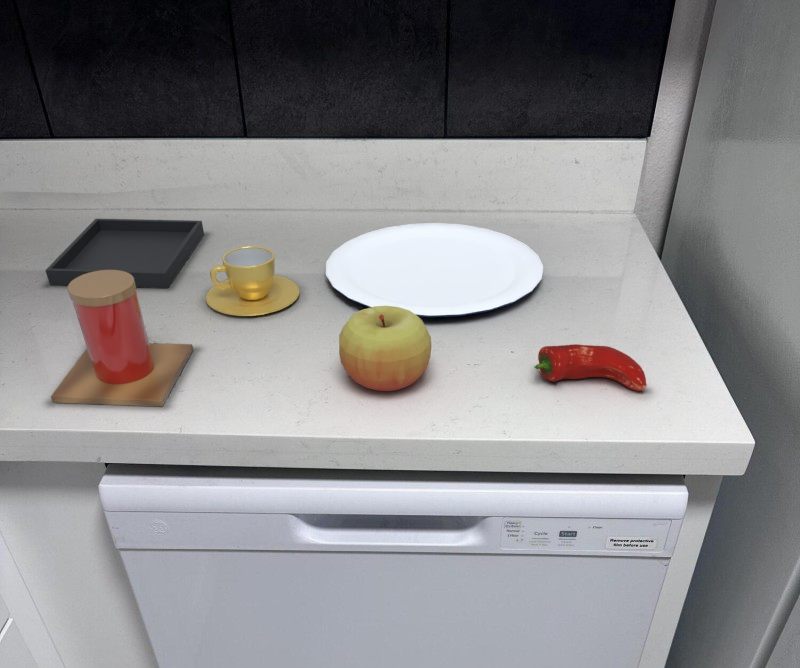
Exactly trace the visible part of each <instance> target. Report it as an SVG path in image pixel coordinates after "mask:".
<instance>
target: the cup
mask: <svg viewBox="0 0 800 668" xmlns="http://www.w3.org/2000/svg"><path fill="white" fill-rule="evenodd" d="M275 256H276V255H275V253H274V251H273V250H271V249H270V248H267V247H264V246H258V245H246V246H240V247H235V248H232V249H230V250H228V251H227V252H225V253H224V254H223V255H222V258H221V260H222V264H219V265H215V266H213V267H212V268H211V269H210V271H209V277H210V280H211V282H212V284H213V286H212V287H211V288H210V289H209V290H208V291H207V293H206V296H205V301H206V303H207V305H208V307H210V308H211V309H213V310H214V311H216V312H219V313H222V314H224V315H230V316H237V317H252V316H260V315H265V314H270V313H274V312H278V311H280V310H283V309H285V308H287V307H289V306H290V305H292V304H293V303H294V302H295V301H297V299H298V298H299V296H300V288H299V286H298V284H296V282H294V281H293V280H291V279H290V278H287V277H285V276H282V275H276V274H275V270H276V269H275V267H276V264H275V262H276V261H275V258H276V257H275ZM218 273H225V274H226V277H227V279H224V280H222V281H219V280H218V279H217V274H218Z"/></svg>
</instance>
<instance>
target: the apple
mask: <svg viewBox="0 0 800 668" xmlns="http://www.w3.org/2000/svg"><path fill="white" fill-rule="evenodd" d="M338 338H339V339H338V344H339V345H338V346H339V347H338V355H339V359H340V360H339V361H340V364H341V366H342V367H343V369H344V370H345V371H346V372H347V374H348V376H350V378H351V379H352V380H353V381H354V382H355V383H356V384H358V385H360V386H362V387H364V388H367V389H368V390H373V391H378V392H392V391H397V390H402V389H404V388H406V387H408V386H410V385H412V384H414V383H415V382H416V381H417V380H418V379H419V378H420V377H422V376H423V374H424V373H425V371H426V370H427V368H428V366H429V365H430V359H431V354H432V336H431V334H430V333H429V331H428V328H427V326H426V325H425V323H424V321H423V319H422V318H421V317H420V316H417V315H415V314H414V313H412V312H411V311H409V310H406V309H403V308H400V307H393V306H375V307H371V308H369V307H366V308H364V309H361V310H359V311H357V312H356V313H353V314H352V316H350V317H349V318H348V320H347V321H346V323H345V324H344V325H343V326H342V328H341V330H340V333H339V337H338Z"/></svg>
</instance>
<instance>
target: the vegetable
mask: <svg viewBox="0 0 800 668" xmlns="http://www.w3.org/2000/svg"><path fill="white" fill-rule="evenodd" d="M537 361H538V364H536V365H535V366H534V367H533V368H534V369H535V370H539V372H540V374H541V376H542V377H543V378H544V379H546V380H547V381H549V382H558V381H563V380H580V379H581V380H582V379H587V378H606V379H610V380H614V381H616V382H618V383H619V384H622V385H623V386H624V387H625V388H628V389H630V390H633V391H638V392H642V391H644V390H645V389H647V378H646V374H645V371H644V370H643V368H642V366H641V365H640V364H639V363H638V362H637V361H636V360H635V359H634V358H633V357H631V356H630V355H628V354H627V353H625V352H623V351H621V350H619V349H616V348H614V347H612V346H608V345H594V344H593V345H591V344H589V345H588V344H563V345H561V344H560V345H545V346H543V347H541V348H539V351H538V354H537Z"/></svg>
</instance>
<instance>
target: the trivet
mask: <svg viewBox="0 0 800 668" xmlns="http://www.w3.org/2000/svg"><path fill="white" fill-rule="evenodd" d="M149 345H150V349H151V353H152V357H153V361H154V368H153V370H152V372H151V373H150V374H148V375H147V376H146V377H144V378H142V379H140V380H137V381H134V382H130V383H125V384H110V383H105V382H102V381H100V380H99V379H98V378H97V377H96V375H95V372H94V369H93V366H92V363H91V359H90V356H89V353H88V350H87V348H86V349H85V350H84V352H83V353H82V355H80V357H79V358H78V359H77V361H75V363H74V365H73V366H72V368H71V369H70V370H69V371H68V373H67V374H66V376H64V378H63V379H62V380H61V382H60V384H59V385H58V386H57V387H56V389H55V390H54V391H53V393H52V394H51V395H50V398H51V401H52V403H53V404H76V405H77V404H79V405H81V404H82V405H106V406H108V405H111V406H134V407H135V406H137V407H162V408H163V406H164V404H165V403H166V401H167V399H168V397H169V395H170V394H171V392H172V390H173V388H174V386H175V385H176V383H177V381H178V380H179V377H180V375H181V374H182V372H183V370H184V368H185V367H186V364H187V363H188V361H189V359H190V358H191V355H192V353H193V352H194V347H193V344H191V343H161V342H160V343H159V342H149Z"/></svg>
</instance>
